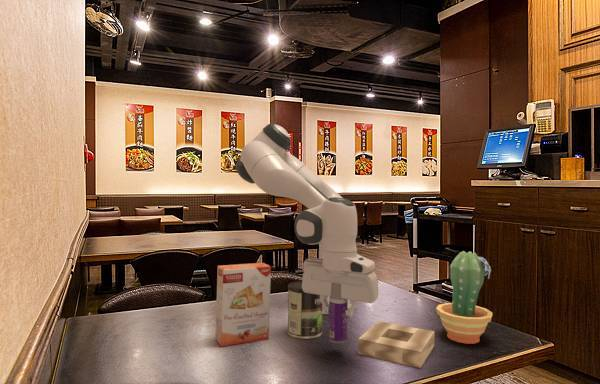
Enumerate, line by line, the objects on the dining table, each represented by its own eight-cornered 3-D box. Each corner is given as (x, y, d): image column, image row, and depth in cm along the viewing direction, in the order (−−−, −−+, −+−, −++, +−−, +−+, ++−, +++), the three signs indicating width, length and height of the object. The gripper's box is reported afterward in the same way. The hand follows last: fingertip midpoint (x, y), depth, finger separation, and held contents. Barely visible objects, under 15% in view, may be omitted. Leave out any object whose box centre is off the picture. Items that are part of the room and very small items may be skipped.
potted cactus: (481, 353, 109) (483, 258, 109) (426, 337, 120) (428, 251, 119) (500, 337, 121) (502, 252, 120) (448, 324, 131) (450, 246, 131)
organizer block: (358, 353, 107) (358, 338, 107) (377, 334, 121) (378, 321, 121) (420, 368, 100) (421, 351, 100) (434, 346, 114) (434, 331, 114)
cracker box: (221, 348, 110) (222, 269, 109) (215, 340, 115) (216, 265, 114) (270, 339, 116) (271, 265, 116) (262, 332, 121) (263, 261, 121)
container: (346, 344, 104) (347, 285, 104) (327, 342, 105) (328, 283, 105) (347, 337, 109) (348, 280, 109) (329, 335, 110) (330, 279, 110)
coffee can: (325, 328, 125) (326, 282, 125) (317, 341, 115) (318, 291, 115) (293, 324, 128) (294, 279, 128) (282, 336, 118) (283, 287, 118)
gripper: (298, 258, 109) (297, 310, 109) (373, 267, 99) (371, 325, 100) (309, 255, 114) (308, 304, 115) (381, 263, 105) (379, 317, 105)
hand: (338, 314), depth 107 cm, fingers closed on container, 5 cm apart
